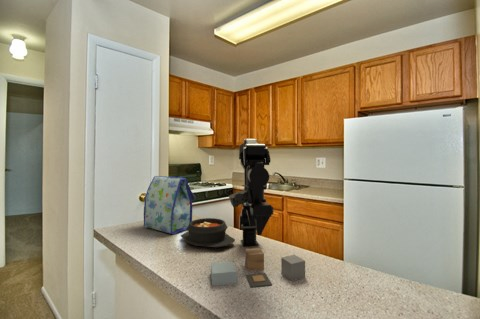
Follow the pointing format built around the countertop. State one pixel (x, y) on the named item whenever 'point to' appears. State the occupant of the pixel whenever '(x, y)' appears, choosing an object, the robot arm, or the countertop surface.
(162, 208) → the lunch bag
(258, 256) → the walnut cube
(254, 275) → the mat
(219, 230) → the casserole
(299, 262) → the grey cube
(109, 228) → the countertop surface
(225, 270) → the base block
